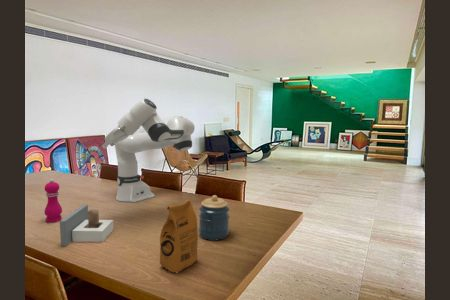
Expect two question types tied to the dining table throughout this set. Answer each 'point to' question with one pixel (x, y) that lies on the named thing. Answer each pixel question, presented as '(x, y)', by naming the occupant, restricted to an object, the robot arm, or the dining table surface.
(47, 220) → the pepper mill
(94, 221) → the walnut dowel
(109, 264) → the dining table surface
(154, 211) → the dining table surface
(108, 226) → the white socket block
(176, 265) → the coffee package
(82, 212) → the slate backstop wall
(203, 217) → the canister
